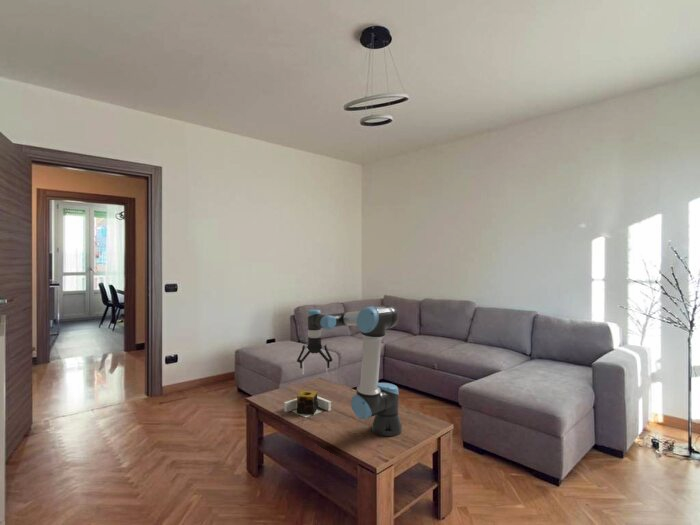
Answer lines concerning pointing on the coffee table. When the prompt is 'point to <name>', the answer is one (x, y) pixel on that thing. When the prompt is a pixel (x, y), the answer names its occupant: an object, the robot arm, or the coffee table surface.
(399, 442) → the coffee table surface
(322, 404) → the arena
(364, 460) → the coffee table surface
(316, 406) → the candle
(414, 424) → the coffee table surface
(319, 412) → the pad
